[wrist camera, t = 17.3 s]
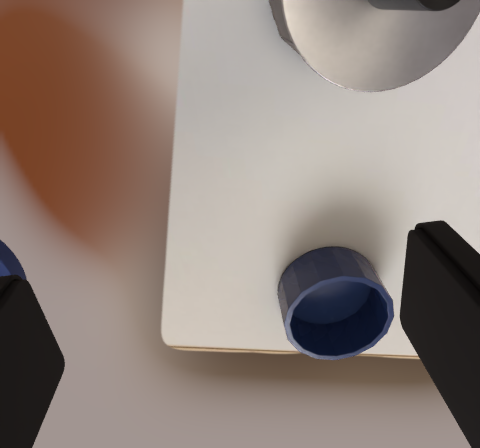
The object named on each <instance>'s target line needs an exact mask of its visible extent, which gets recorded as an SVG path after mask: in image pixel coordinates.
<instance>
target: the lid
mask: <svg viewBox="0 0 480 448" xmlns="http://www.w3.org/2000/svg"><path fill="white" fill-rule="evenodd" d="M281 3H282V12H283V16H284V20H285V24H286V27H287V30H288V33H289V35H290V38H291V40H292V42H293V44H294V46H295V48H296V50H297V51H298V53H299V54H300V55H301V57H302V58H303V60H304V61H305V62H306V63H307V64H308V65H309V66H310V67H311V68H312V69H313V70H314V71H315V72H316V73H318V74H319V75H320V76H321V77H323V78H324V79H326V80H328V81H329V82H331V83H333V84H335V85H338V86H340V87H343V88H345V89H350V90H354V91H362V92H378V91H385V90H391V89H395V88H398V87H401V86H404V85H407V84H409V83H411V82H413V81H415V80H417V79H419V78H421V77H422V76H424V75H426V74H427V73H429V72H430V71H432V70H433V69H434V68H436V67H437V66H438V65H439V64H441V63H442V62H443V61H444V60H445V59H446V58H447V57H448V56H449V55H450V54H451V53H452V52H453V51H454V50H455V49H456V47H457V46H458V45H459V44H460V43H461V42H462V40H463V39H464V37H465V36H466V35H467V33H468V32H469V30H470V29H471V27H472V25H473V24H474V22H475V20H476V18H477V16H478V15H479V12H480V0H281Z"/></svg>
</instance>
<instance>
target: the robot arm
mask: <svg viewBox="0 0 480 448" xmlns="http://www.w3.org/2000/svg"><path fill="white" fill-rule="evenodd" d="M400 321H401V325H402V328H403V330H404V332H405V333H406V335H407V337H408V338H409V340H410V342H411V344H412V345H413V347H414V349H415V351H416V352H417V354H418V356H419V358H420V359H421V361H422V363H423V364H424V366H425V368H426V370H427V371H428V373H429V375H430V377H431V378H432V380H433V382H434V383H435V385H436V387H437V389H438V390H439V392H440V394H441V396H442V397H443V399H444V401H445V403H446V404H447V406H448V408H449V409H450V411H451V413H452V415H453V416H454V418H455V420H456V421H457V423H458V425H459V427H460V428H461V430H462V432H463V434H464V435H465V437H466V439H467V441H468V442H469V444H470V446H471V448H480V254H479V253H478V252H477V251H476V250H475V249H474V248H472V247H471V246H470V245H469V244H468V243H467V242H466V241H465V240H464V239H463V238H462V237H461V236H460V235H459V234H458V233H457V232H456V231H454V230H453V229H452V228H451V227H450V226H449V225H448V224H447V223H446V222H444V221H433V222H425V223H418V224H417V225H416V227H415V230H411V231H409V233H408V238H407V248H406V258H405V268H404V278H403V288H402V298H401V308H400ZM64 367H65V362H64V357H63V354H62V352H61V350H60V348H59V346H58V344H57V341H56V339H55V337H54V335H53V333H52V331H51V329H50V326H49V324H48V322H47V320H46V318H45V316H44V313H43V311H42V309H41V307H40V305H39V303H38V301H37V298H36V296H35V294H34V292H33V290H32V287H31V285H30V284H29V282H28V281H27V280H22V278H21V277H20V276H18V275H9V276H1V277H0V448H32V446H33V444H34V442H35V439H36V437H37V435H38V432H39V430H40V427H41V425H42V422H43V420H44V418H45V415H46V413H47V410H48V408H49V405H50V403H51V400H52V398H53V396H54V393H55V391H56V388H57V386H58V384H59V381H60V379H61V377H62V374H63V371H64Z"/></svg>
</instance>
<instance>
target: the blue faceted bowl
mask: <svg viewBox="0 0 480 448" xmlns="http://www.w3.org/2000/svg"><path fill="white" fill-rule="evenodd" d="M278 299H279V304H280V308H281V313H282V318H283V322H284V327H285V330H286V334H287V338H288V340H289V341H290V343H291V344H292V345H293V346H294V347H295V348H296V349H297V350H298V351H299V352H301V353H304V354H306V355H309V356H311V357H313V358H316V359H328V360H338V359H342V358H347V357H352V356H355V355H358V354H360V353H362V352H363V351H365V350H367V349H369V348H371V347H373V346H374V345H375V344H376V343H377V342H378V341H379V340H380V339H381V338H382V337H383V336H384V335H385V334H386V333H387V332H388V329H389V327H390V325H391V322H392V320H393V318H394V311H393V300H392V298H391V297H390V295H389V293H388V291H387V290H386V288H385V286H384V285H383V283H382V281H381V280H380V278H379V276H378V275H377V273H376V271H375V270H374V269H373V267H372V266H371V264H370V263H369V262H368V260H367V259H366V258H365V257H363V256H362V255H361V254H359V253H357V252H355V251H353V250H350V249H347V248H341V247H325V248H320V249H316V250H313V251H310V252H308V253H306V254H304V255H302V256H300V257H299V258H298V259H296V260H295V261H294V262H293V263H292V264H290V266H289V267H288V268H287V269H286V270H285V272H284V273H283V275H282V277H281V279H280V283H279V287H278Z"/></svg>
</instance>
